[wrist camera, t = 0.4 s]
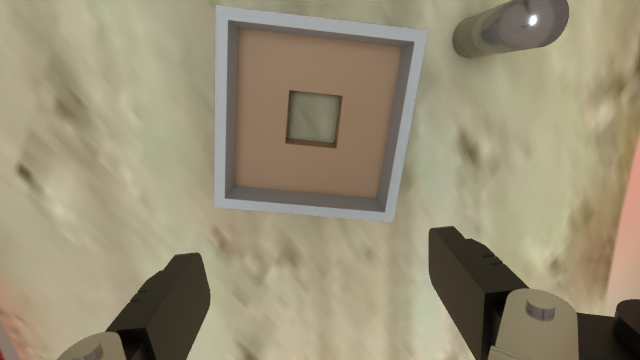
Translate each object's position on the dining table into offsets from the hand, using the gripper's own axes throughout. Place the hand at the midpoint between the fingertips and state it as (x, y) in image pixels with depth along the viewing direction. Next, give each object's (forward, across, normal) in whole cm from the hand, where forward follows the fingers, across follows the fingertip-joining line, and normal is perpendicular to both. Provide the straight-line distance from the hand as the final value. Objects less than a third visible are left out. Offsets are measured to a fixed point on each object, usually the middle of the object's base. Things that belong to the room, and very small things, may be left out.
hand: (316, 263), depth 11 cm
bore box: (+27, 0, -2) cm, 27 cm away
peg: (+27, -18, -8) cm, 34 cm away
